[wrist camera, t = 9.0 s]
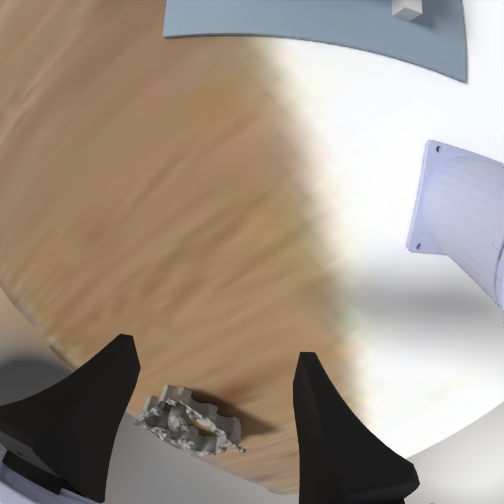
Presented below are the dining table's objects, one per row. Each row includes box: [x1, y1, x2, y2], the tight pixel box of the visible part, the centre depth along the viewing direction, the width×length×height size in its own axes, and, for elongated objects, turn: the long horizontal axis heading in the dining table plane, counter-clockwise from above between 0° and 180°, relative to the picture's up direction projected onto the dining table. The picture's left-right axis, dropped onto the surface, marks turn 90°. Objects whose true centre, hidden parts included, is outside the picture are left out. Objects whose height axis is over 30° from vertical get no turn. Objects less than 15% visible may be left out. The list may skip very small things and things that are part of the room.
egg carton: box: [134, 385, 246, 457], centre depth 27 cm, size 11×8×4 cm
